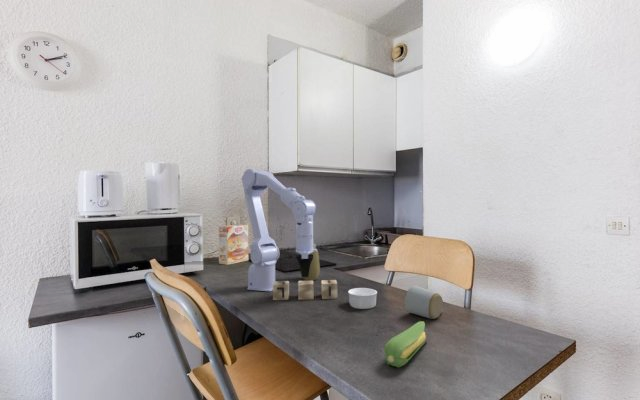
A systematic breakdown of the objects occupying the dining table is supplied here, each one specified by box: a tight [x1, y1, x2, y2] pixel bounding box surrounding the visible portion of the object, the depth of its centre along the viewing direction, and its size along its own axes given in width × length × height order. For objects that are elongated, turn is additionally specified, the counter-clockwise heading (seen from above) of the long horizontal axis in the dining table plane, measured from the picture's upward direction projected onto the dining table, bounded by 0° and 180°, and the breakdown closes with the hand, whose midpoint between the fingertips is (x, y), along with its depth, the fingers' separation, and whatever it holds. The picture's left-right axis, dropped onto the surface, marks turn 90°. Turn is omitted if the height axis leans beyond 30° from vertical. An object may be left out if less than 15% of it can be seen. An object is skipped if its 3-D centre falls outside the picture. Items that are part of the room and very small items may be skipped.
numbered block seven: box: [272, 280, 290, 301], centre depth 112 cm, size 5×5×5 cm
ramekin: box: [347, 287, 378, 310], centre depth 103 cm, size 9×9×4 cm
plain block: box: [297, 280, 315, 301], centre depth 112 cm, size 5×5×5 cm
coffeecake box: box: [218, 223, 249, 266], centre depth 177 cm, size 15×7×20 cm, turn 147°
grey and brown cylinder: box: [404, 285, 444, 320], centre depth 94 cm, size 11×8×8 cm
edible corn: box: [384, 320, 427, 368], centre depth 71 cm, size 5×20×5 cm
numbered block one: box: [320, 279, 338, 300], centre depth 113 cm, size 5×5×5 cm
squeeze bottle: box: [299, 243, 321, 281], centre depth 137 cm, size 8×8×18 cm
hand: (305, 276), depth 112 cm, fingers closed
